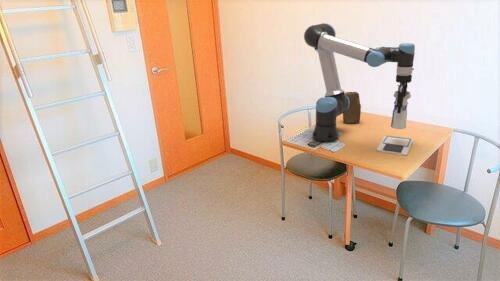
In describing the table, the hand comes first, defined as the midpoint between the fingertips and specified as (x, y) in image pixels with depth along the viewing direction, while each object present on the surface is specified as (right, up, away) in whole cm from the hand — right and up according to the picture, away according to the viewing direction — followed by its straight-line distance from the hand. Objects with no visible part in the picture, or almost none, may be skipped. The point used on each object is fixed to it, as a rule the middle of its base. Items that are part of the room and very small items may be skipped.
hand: (399, 116), depth 194 cm
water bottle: (0, -6, +2) cm, 6 cm away
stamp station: (-2, -16, +2) cm, 16 cm away
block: (-15, -1, +41) cm, 44 cm away
